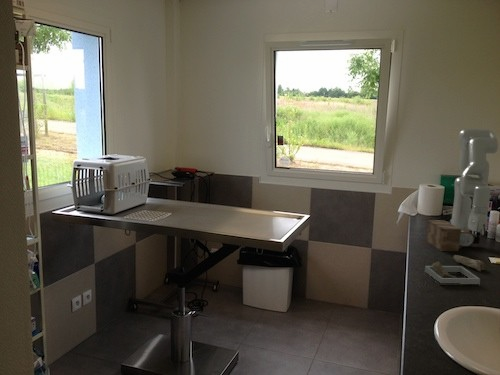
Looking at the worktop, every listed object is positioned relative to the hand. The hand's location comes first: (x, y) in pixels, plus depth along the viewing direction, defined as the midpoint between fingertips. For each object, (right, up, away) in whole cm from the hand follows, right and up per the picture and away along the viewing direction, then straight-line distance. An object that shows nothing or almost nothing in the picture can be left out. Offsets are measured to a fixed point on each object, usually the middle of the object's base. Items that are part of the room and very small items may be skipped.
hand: (475, 243), depth 242 cm
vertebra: (-37, -10, -47) cm, 60 cm away
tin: (-9, -2, -1) cm, 9 cm away
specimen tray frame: (-33, -10, -47) cm, 58 cm away
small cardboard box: (-17, -1, -1) cm, 17 cm away
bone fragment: (-18, -7, -31) cm, 37 cm away
